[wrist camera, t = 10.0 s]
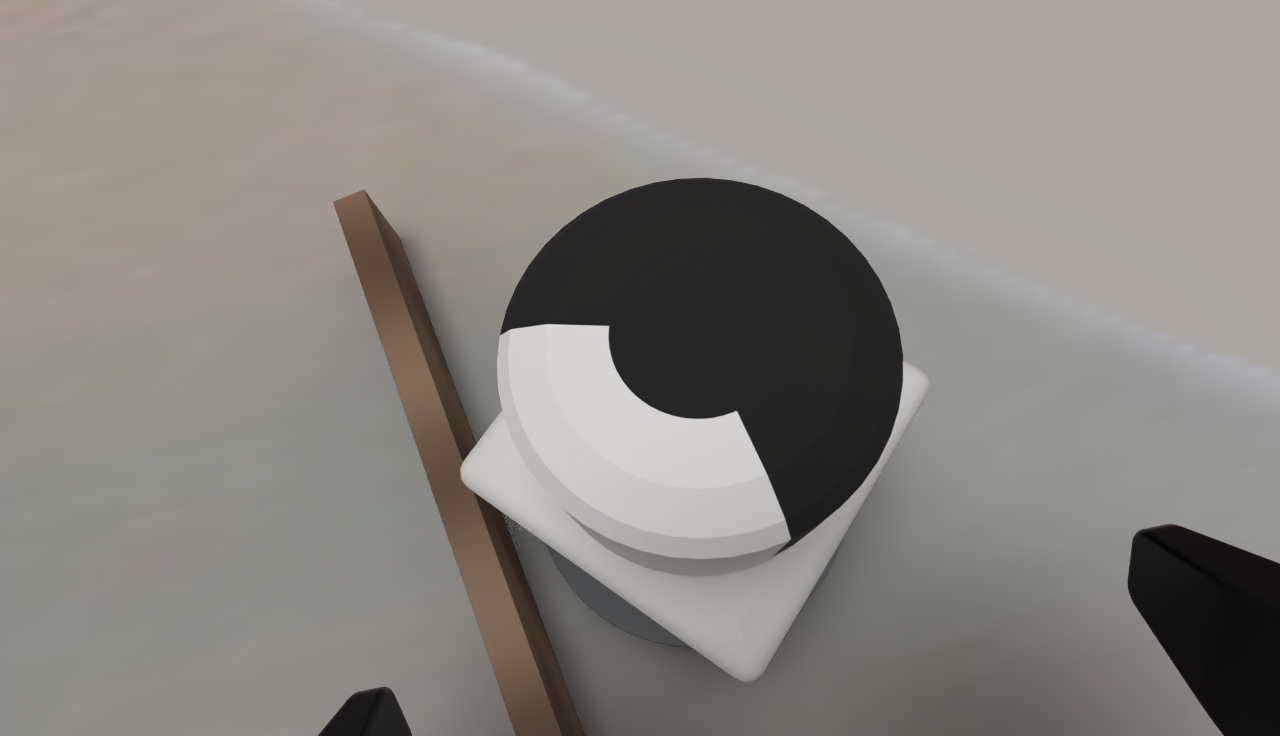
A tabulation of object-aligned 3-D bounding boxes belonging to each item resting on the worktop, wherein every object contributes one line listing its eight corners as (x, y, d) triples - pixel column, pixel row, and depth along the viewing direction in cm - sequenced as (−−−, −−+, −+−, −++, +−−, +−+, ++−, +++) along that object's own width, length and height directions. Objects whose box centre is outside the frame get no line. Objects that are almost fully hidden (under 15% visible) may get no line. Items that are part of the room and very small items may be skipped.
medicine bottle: (658, 329, 24) (631, 50, 12) (863, 454, 22) (1049, 263, 11) (521, 522, 22) (343, 403, 11) (732, 672, 20) (787, 722, 9)
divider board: (631, 862, 19) (622, 900, 17) (595, 879, 19) (579, 922, 17) (399, 237, 26) (364, 189, 23) (372, 249, 26) (333, 201, 23)
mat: (908, 477, 22) (913, 473, 22) (702, 720, 20) (702, 722, 20) (681, 291, 25) (681, 283, 24) (479, 493, 23) (474, 490, 22)
